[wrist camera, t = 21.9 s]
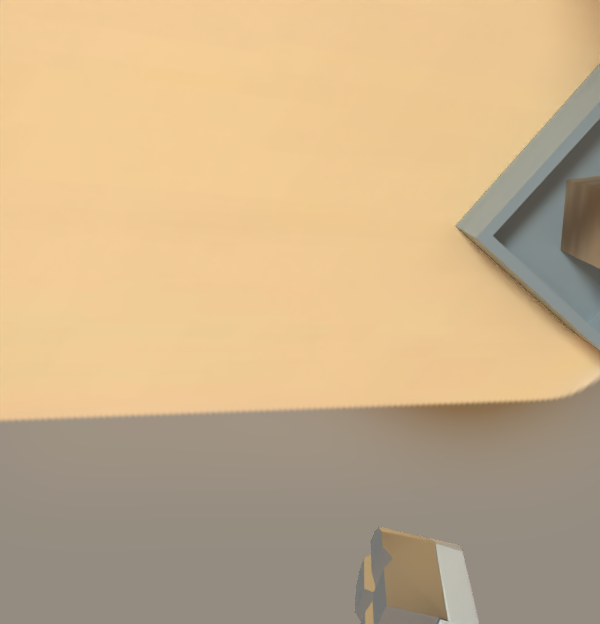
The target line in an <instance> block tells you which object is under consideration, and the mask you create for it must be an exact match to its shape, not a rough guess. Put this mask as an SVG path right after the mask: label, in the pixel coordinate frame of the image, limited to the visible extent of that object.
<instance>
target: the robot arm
mask: <svg viewBox="0 0 600 624" xmlns="http://www.w3.org/2000/svg"><path fill="white" fill-rule="evenodd" d="M355 613H356V614H357V616H358V618H359V619H360V621H361V624H479V620H478V616H477V611H476V607H475V602H474V599H473V594H472V590H471V585H470V581H469V576H468V572H467V568H466V564H465V559H464V555H463V550H462V549H461V547H460V546H459V545H458V544H454V543H449V542H445V541H440V540H436V539H430V538H427V537H422V536H418V535H413V534H409V533H404V532H399V531H395V530H390V529H386V528H382V527H378V528H377V529H376V530H375V532H374V535H373V537H372V539H371V554H370V555H368V556H367V557H365V558H364V559H363V562H362V565H361V568H360V571H359V575H358V581H357V585H356V595H355Z"/></svg>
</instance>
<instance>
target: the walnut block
mask: <svg viewBox="0 0 600 624" xmlns="http://www.w3.org/2000/svg"><path fill="white" fill-rule="evenodd" d="M561 251H563V252H565V253H568V254H570V255H572V256H574V257H576V258H578V259H580V260H582V261H584V262H587V263H589V264H591V265H593V266H595V267H597V268H599V269H600V176H593V177H585V178H576V179H568V180H566V192H565V203H564V215H563V227H562V238H561Z"/></svg>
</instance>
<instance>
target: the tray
mask: <svg viewBox="0 0 600 624" xmlns="http://www.w3.org/2000/svg"><path fill="white" fill-rule="evenodd" d="M593 176H600V64H599V65H598V66H597V68H596V69H595V70H594V71H593V72H592V73H591V74H590V75H589V77H588V78H587V79H586V80H585V81H584V82H583V83H582V84H581V86H580V87H579V88H578V89H577V90H576V91H575V92H574V93H573V95H572V96H571V97H570V98H569V99H568V100H567V101H566V102H565V104H564V105H563V106H562V107H561V108H560V109H559V110H558V111H557V113H556V114H555V115H554V116H553V117H552V118H551V119H550V120H549V122H548V123H547V124H546V125H545V126H544V127H543V128H542V129H541V131H540V132H539V133H538V134H537V135H536V136H535V137H534V138H533V140H532V141H531V142H530V143H529V144H528V145H527V146H526V147H525V148H524V150H523V151H522V152H521V153H520V154H519V155H518V156H517V157H516V159H515V160H514V161H513V162H512V163H511V164H510V165H509V166H508V168H507V169H506V170H505V171H504V172H503V173H502V174H501V175H500V177H499V178H498V179H497V180H496V181H495V182H494V183H493V184H492V186H491V187H490V188H489V189H488V190H487V191H486V192H485V193H484V195H483V196H482V197H481V198H480V199H479V200H478V201H477V202H476V204H475V205H474V206H473V207H472V208H471V209H470V210H469V211H468V213H467V214H466V215H465V216H464V217H463V218H462V219H461V220H460V222H459V223H458V224H457V225H456V227H457V228H458V229H460V230H461V231H462V232H463V233H464V234H465V235H466V236H467V237H468V238H470V239H471V240H472V241H473V242H474V243H475V244H476V245H477V246H478V247H480V248H481V249H482V250H483V251H484V252H485V253H486V254H487V255H489V256H490V257H491V258H492V259H493V260H494V261H495V262H496V263H497V264H499V265H500V266H501V267H502V268H503V269H504V270H505V271H506V272H508V273H509V274H510V275H511V276H512V277H513V278H514V279H515V280H516V281H518V282H519V283H520V284H521V285H522V286H523V287H524V288H525V289H526V290H528V291H529V292H530V293H531V294H532V295H533V296H534V297H535V298H537V299H538V300H539V301H540V302H541V303H542V304H543V305H544V306H545V307H547V308H548V309H549V310H550V311H551V312H552V313H553V314H554V315H555V316H557V317H558V318H559V319H560V320H561V321H562V322H563V323H564V324H566V325H567V326H568V327H569V328H570V329H571V330H572V331H573V332H574V333H576V334H577V335H578V336H580V337H581V338H583V339H584V340H586V341H587V342H588V343H590V344H591V345H593V346H594V347H596V348H597V349H599V350H600V269H599V268H597V267H595V266H593V265H591V264H589V263H587V262H584V261H582V260H580V259H578V258H576V257H574V256H572V255H570V254H568V253H565V252H563V251H561V238H562V227H563V215H564V203H565V192H566V180H568V179H576V178H585V177H593Z"/></svg>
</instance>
